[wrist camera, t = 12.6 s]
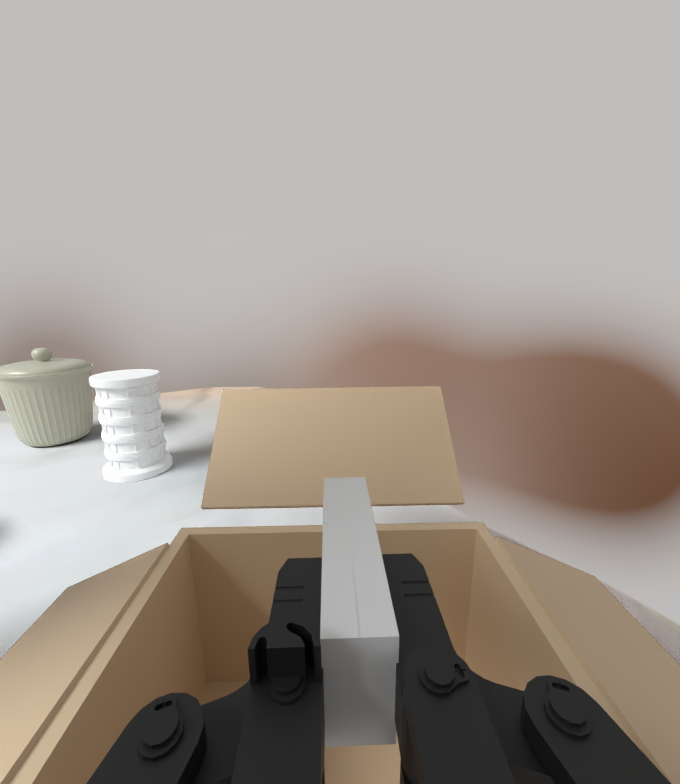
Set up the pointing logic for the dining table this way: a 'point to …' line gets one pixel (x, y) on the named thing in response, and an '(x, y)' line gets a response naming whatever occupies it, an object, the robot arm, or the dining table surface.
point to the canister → (48, 398)
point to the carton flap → (331, 447)
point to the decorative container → (131, 424)
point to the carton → (252, 611)
